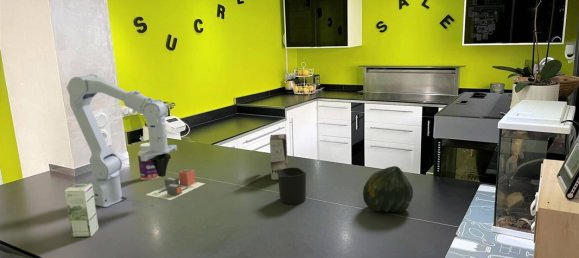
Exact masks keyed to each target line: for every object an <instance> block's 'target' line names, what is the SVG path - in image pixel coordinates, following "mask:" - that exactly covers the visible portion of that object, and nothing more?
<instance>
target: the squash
mask: <svg viewBox="0 0 579 258" xmlns="http://www.w3.org/2000/svg"><path fill="white" fill-rule="evenodd" d="M413 192H414V189H413V186H412V183H411V182H410V181H409V179H408V177H407V176H406V174H405V173H404V172H403V170H402V169H401V168H400V167H399V166H398V165H397V166H396V165H395V166H389V167H385V168H383V169H380V170H378V171H376V172H374V173H372V174H371V175H370V177H368V179H367V181H366V182H365V184H364V186H363V192H362V196H363V201H364V204H365V205H366V206H367V207H368V208H370V209H372V210H374V211H375V212H382V211H383V212H386V213H388V212H391V213H394V212H397V213H401V212H405V211H406V210H407V209H408V208H409V206H410V203H411V202H412V199H413V194H414V193H413Z"/></svg>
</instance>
